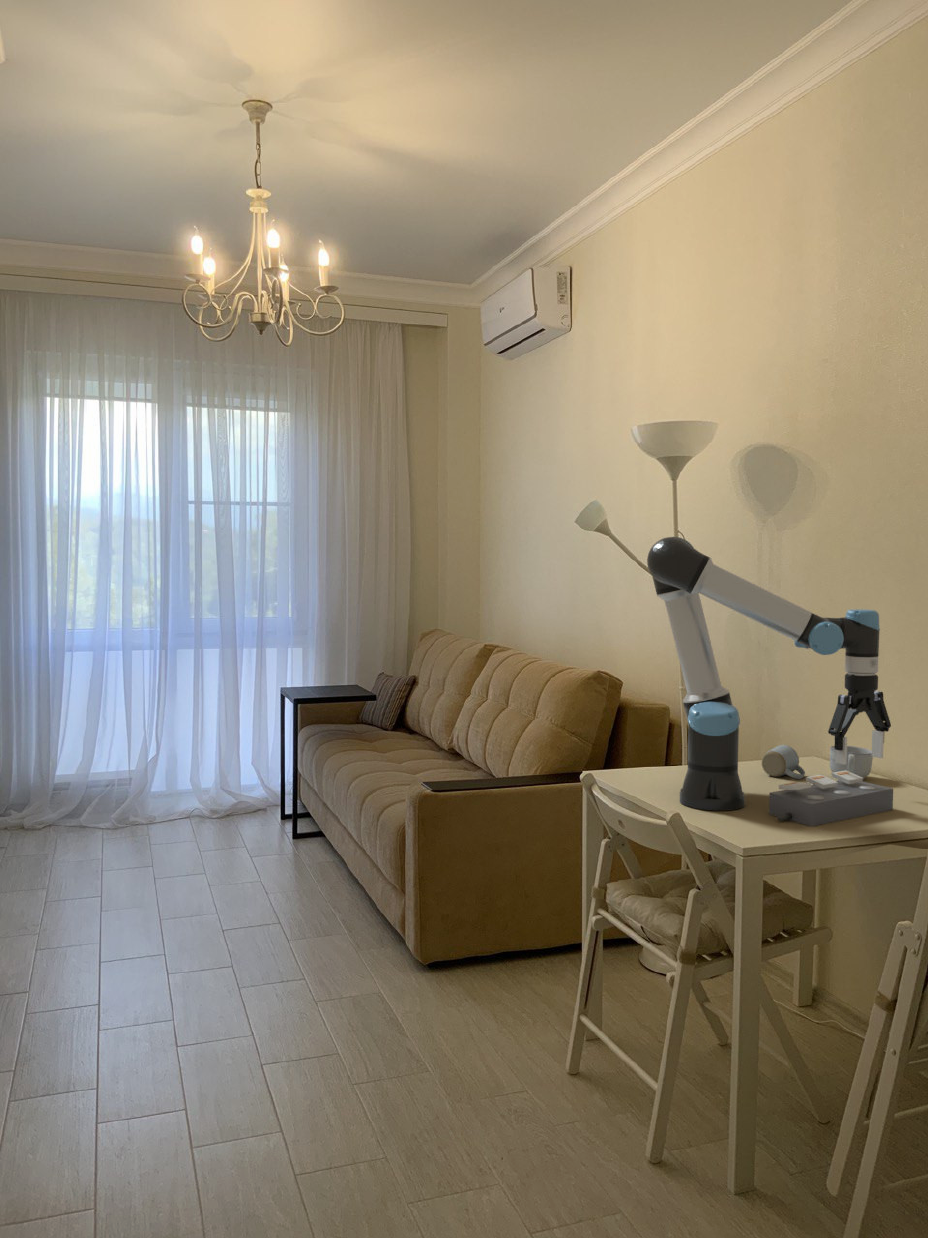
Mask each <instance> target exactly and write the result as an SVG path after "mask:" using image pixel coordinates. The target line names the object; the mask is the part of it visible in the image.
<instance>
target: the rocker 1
mask: <svg viewBox="0 0 928 1238" xmlns="http://www.w3.org/2000/svg"><path fill="white" fill-rule="evenodd" d="M811 785H812V784H811V783H809V782H796V781H795V782H788V783H787V782H786V783H781V784H778V789H779V790H787V791H791V790H799V789H805V788H811Z"/></svg>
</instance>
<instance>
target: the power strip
mask: <svg viewBox="0 0 928 1238" xmlns="http://www.w3.org/2000/svg"><path fill="white" fill-rule="evenodd" d="M835 781H836V782H838V784H837V786H836V787H831V788H825V789H822V788H820V787H817V786H814V785H813V784H811V788H805V789H799V790H791V791H787V790H783V789H781V790H778V791H772V792H769V797H768V798H769V800H768V801H769V802H768V803H769V804H768V805H769V806H768V814H769V815H770V816H774V817H777V820H778V821H787V820H788V821H791V822H795V823H798V824H802V825H805V826H808V827H815V826H820V825H826V824H831V823H836V822H839V821H845V820H850V819H855V818H859V817H865V816H869V815H873V814H878V813H883V812H888V811H892V810H893V807H894V788H892V787H888V786H883V785H879V784H876V783H871V782H866V781H864V780H863V781H862V782H859V783H853V784H847V783H844V782H840V781H839V780H835Z"/></svg>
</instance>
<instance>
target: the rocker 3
mask: <svg viewBox="0 0 928 1238" xmlns="http://www.w3.org/2000/svg"><path fill="white" fill-rule="evenodd" d="M830 777H832V778H834V779H836V780H837V781H840V782H844V783H847V784H853V783H859V782H862V781H863V782H864V779H863V778H862V777H860V776H858V775H855V774H853V773H851V772H848V771H846V770H845V771H839V772H831V776H830Z"/></svg>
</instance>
